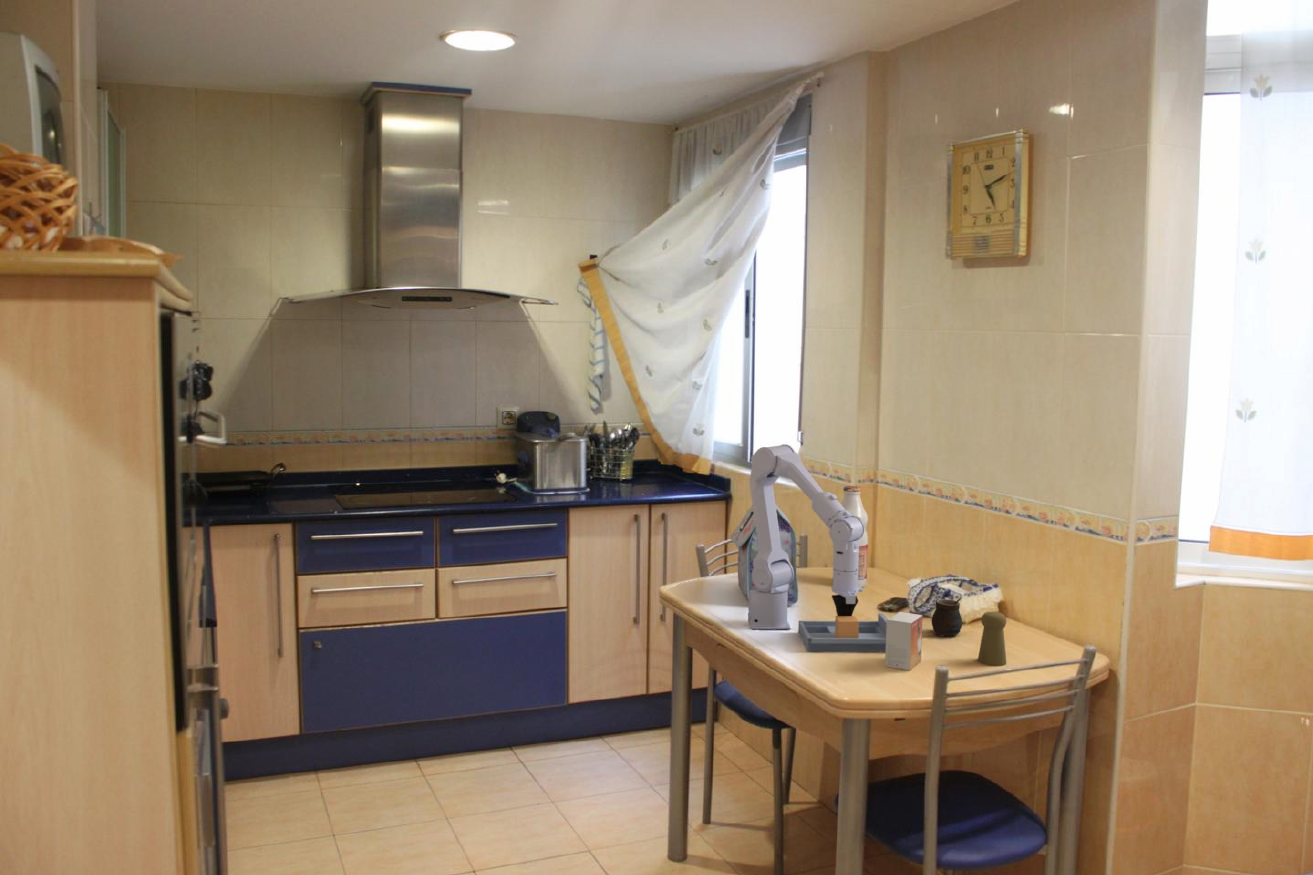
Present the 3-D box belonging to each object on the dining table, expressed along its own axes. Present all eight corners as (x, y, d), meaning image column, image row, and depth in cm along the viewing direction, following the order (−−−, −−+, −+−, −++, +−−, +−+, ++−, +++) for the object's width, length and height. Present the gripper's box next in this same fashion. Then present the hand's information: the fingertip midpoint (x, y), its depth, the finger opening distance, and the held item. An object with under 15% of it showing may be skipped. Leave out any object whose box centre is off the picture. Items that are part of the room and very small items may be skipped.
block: (838, 640, 247) (839, 621, 246) (835, 635, 251) (835, 616, 251) (858, 640, 247) (859, 621, 246) (854, 635, 251) (855, 616, 251)
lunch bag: (728, 586, 305) (729, 493, 302) (787, 586, 306) (789, 493, 303) (737, 607, 283) (738, 506, 280) (801, 607, 283) (803, 507, 280)
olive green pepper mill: (973, 657, 242) (975, 609, 241) (999, 657, 242) (1002, 608, 241) (983, 666, 236) (986, 616, 235) (1011, 665, 236) (1013, 616, 235)
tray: (807, 651, 245) (808, 630, 244) (798, 632, 260) (798, 612, 259) (896, 652, 245) (897, 630, 245) (881, 633, 260) (882, 612, 260)
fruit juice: (826, 584, 308) (828, 486, 305) (846, 579, 315) (848, 483, 312) (853, 590, 302) (856, 490, 299) (873, 585, 308) (876, 487, 305)
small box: (909, 671, 232) (911, 623, 231) (884, 666, 235) (885, 619, 234) (921, 661, 239) (923, 614, 237) (897, 657, 242) (898, 610, 240)
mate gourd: (940, 628, 265) (942, 588, 264) (968, 635, 260) (971, 594, 259) (924, 633, 260) (926, 592, 259) (953, 641, 255) (955, 599, 254)
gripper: (869, 576, 244) (867, 635, 245) (856, 562, 258) (855, 618, 260) (838, 576, 244) (836, 635, 245) (827, 562, 258) (825, 618, 260)
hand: (844, 626), depth 252 cm, fingers closed
